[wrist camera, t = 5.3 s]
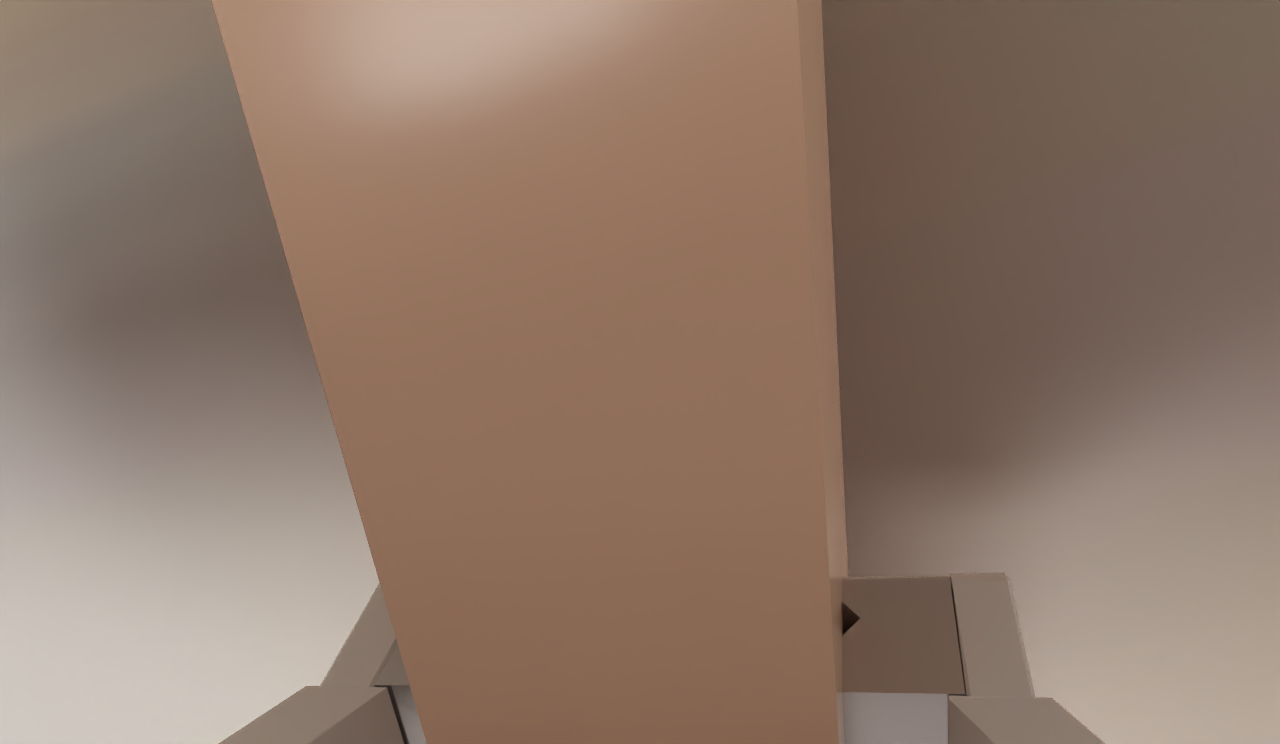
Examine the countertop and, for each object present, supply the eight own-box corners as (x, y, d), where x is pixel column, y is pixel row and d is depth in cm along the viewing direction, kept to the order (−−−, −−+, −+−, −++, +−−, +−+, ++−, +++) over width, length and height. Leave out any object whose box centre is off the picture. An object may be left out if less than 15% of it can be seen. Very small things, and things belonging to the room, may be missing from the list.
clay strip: (451, -273, 9) (121, -311, 5) (807, -328, 9) (772, -426, 5) (663, 939, 17) (601, 1350, 12) (866, 954, 16) (874, 1387, 12)
